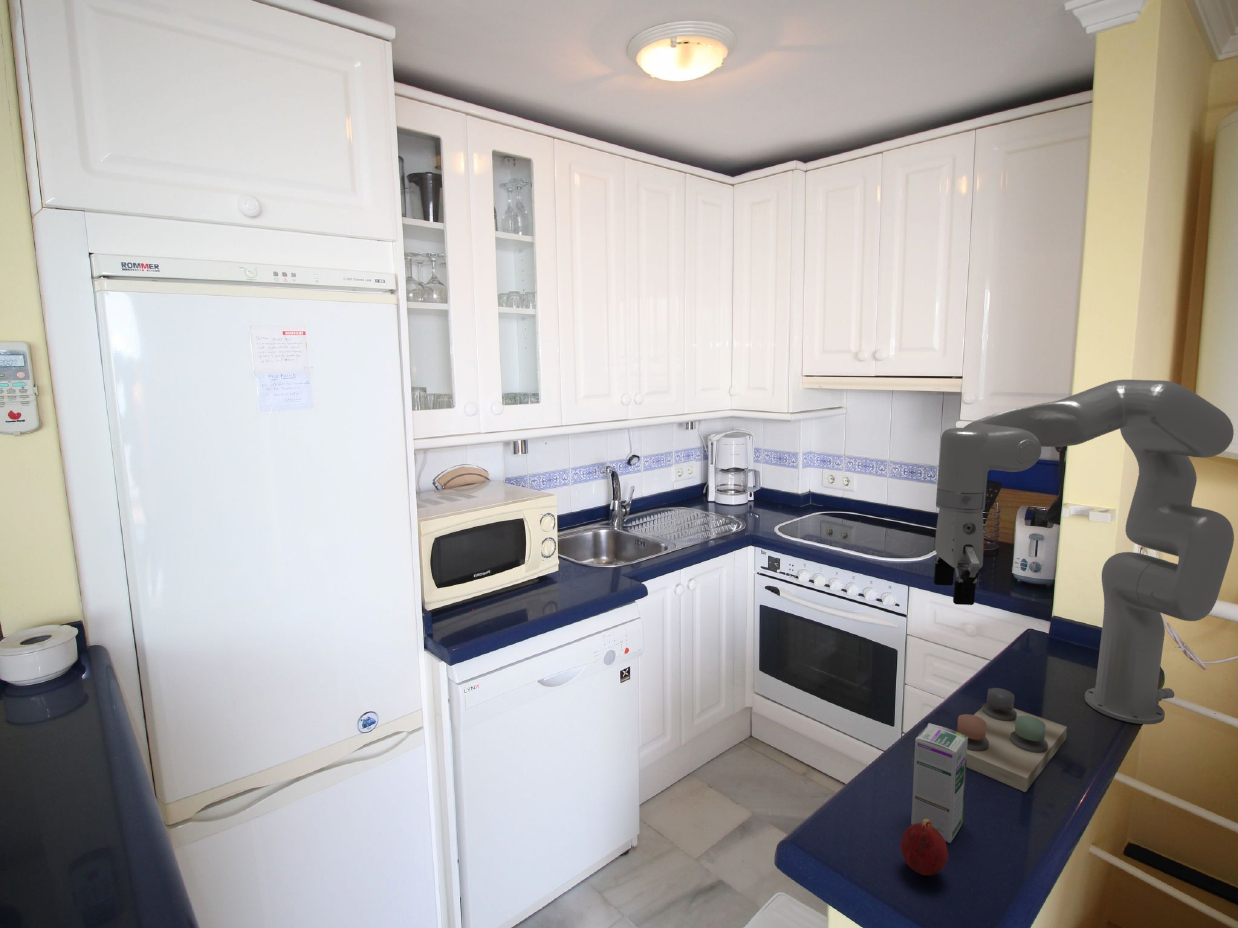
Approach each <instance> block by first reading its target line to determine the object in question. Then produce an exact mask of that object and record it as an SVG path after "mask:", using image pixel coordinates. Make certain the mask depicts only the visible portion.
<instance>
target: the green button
mask: <svg viewBox="0 0 1238 928" xmlns="http://www.w3.org/2000/svg"><path fill="white" fill-rule="evenodd" d="M1045 728H1046V725H1045V723H1044V722H1042V721H1041V720H1039V719H1037V718H1034V717H1031V716H1018V717H1016V723H1015V732H1016V734H1017V735H1019V736H1020V737H1022V738H1024V739H1027V740H1031V741H1042V740H1044V738H1045Z"/></svg>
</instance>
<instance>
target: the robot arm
mask: <svg viewBox="0 0 1238 928" xmlns="http://www.w3.org/2000/svg"><path fill="white" fill-rule="evenodd" d="M1117 430H1120V435H1121V437H1122V439H1123V440H1124V442H1125V443H1126V445H1127V446H1128V447H1129V448H1130V450H1131V451H1132V453H1133V455H1134V457H1135V459H1136V461H1137V465H1138V476H1137V477H1138V478H1137V480H1136V481H1137V482H1136V486H1135V489H1134V493H1133V497H1132V500H1131V503H1130V507H1129V511H1128V515H1127V518H1126V523H1125V534H1126V537H1127V539H1128V540H1129V541H1130V542H1132V543H1134V544H1136V545H1138V546H1140V547H1144V548H1148V549H1150V550H1154V551H1156V552H1157V551H1158V552H1161V553H1164V554H1168V555H1172V556H1174V557H1178V560H1177V561H1178V562H1177V563H1175V562H1171V561H1169V560H1166V559H1162V558H1158V557H1155V556H1151V555H1147V554H1144V553H1139V552H1131V551H1124V552H1118V553H1114V554H1113V555H1111V556H1110V557H1109V558H1108V559H1107V560H1106V561H1105V563H1104V564H1103V566H1102V570H1101V586H1102V592H1103V619H1102V628H1101V637H1100V644H1099V654H1098V662H1097V669H1096V670H1097V671H1096V679H1095V681H1096V682H1095V687H1092V688H1089V689H1087V690H1086V691H1085V693H1084V700H1085V702H1086V704H1088V705H1089V707H1091V708H1092V709H1093V710H1096V711H1097V712H1099V713H1100V714H1103V715H1105V716H1107V717H1110V718H1113V719H1116V720H1118V721H1123V722H1126V723H1131V724H1137V725H1157V724H1159V723H1161V722H1163V721H1164V720H1165V715H1166V713H1165V710H1164V709H1163V707H1161V705H1160V702H1161V701H1162V700H1166V699H1173V698H1174V697H1175V692H1174V690H1173V689H1171V687H1164V688H1158V687H1159V680H1160V672H1161V665H1162V658H1163V657H1162V656H1163V650H1164V640H1165V632H1166V629H1165V623H1164V620H1163V616H1162V615H1163V614H1164V615H1166V616H1168V617H1171V618H1175V619H1178V620H1180V621H1186V622H1197V621H1201V620H1203V619H1204V618H1206V617H1208V615H1209V614H1210V613H1211V612H1212V611H1213V609H1214V607H1215V606H1216V603H1217V600H1218V597H1219V594H1220V592H1221V591H1220V590H1221V587H1222V585H1223V582H1224V578H1225V575H1226V573H1227V569H1228V565H1229V562H1230V558H1231V555H1232V551H1233V547H1234V543H1235V534H1234V532H1235V531H1234V528H1233V525H1232V523H1231V522H1230V520H1229V519H1228V518H1227V517H1226V516H1224V515H1223V514H1222V513H1220V512H1218V511H1214V510H1212V509H1208V508H1203V507H1197V506H1193V505H1192V503H1193V499H1194V496H1195V495H1194V493H1195V490H1196V485H1197V481H1198V480H1197V479H1198V478H1197V473H1196V469H1195V466H1194V465H1193V463H1192V460H1191V459H1190V457H1191V458H1199V459H1203V458H1205V459H1206V458H1207V459H1208V458H1213V457H1216V456H1218V455H1221V454H1222V453H1223V452H1225V451H1226V450H1227V449H1228V448H1229V447H1230V445H1231V443H1232V441H1233V439H1234V434H1235V433H1234V425H1233V423H1232V421H1231V419H1230V418H1229V416H1228V415H1227V414H1226V413H1225V412H1224V411H1222V410H1221V409H1220V408H1218V407H1217V406H1215V405H1214V404H1213V403H1211V402H1209V401H1208V400H1206V399H1205V398H1204V397H1202V396H1200V395H1198V394H1197V393H1195V392H1194V391H1192V390H1191V389H1188V387H1185V386H1183V385H1181V384H1178V383H1176V382H1172V381H1169V380H1159V379H1158V380H1154V379H1152V380H1150V379H1147V380H1146V379H1117V380H1112V381H1108V382H1105V383H1102V384H1100V385H1096V386H1094V387H1090V388H1088V389H1086V390H1084V391H1081V392H1077V393H1075V394H1072V395H1070V396H1067V397H1065V398H1061V399H1058V400H1054V401H1048V402H1043V403H1037V404H1034V405H1030V406H1026V407H1025V406H1024V407H1018V408H1014V409H1010V410H1004V411H1000V412H997V413H993V414H991V415H988V416H985V417H982V418H980V419H977V420H974V421H972V422H970V423H968V424H967V425H965V426H963V427H953V428H952V427H951V428H948V429H945V430H944V431H943V432H942V434H941V436H940V437H941V438H940V448H939V460H938V471H937V472H938V473H937V485H936V486H937V488H936V498H935V499H936V500H935V507H937V508H938V510H939V511H938V515H937V520H936V528H935V542H934V544H935V546H934V547H935V549H934V550H935V553H936V555H935V556H934V571H933V572H934V573H933V584H934V585H935V586H949V587H950V586H953V584H954V586H953V595H952V596H953V597H952V598H953V599H952V602H953V604H954V605H958V606H959V605H962V606H963V605H965V606H973V605H974V604H975V597H976V584H977V583H978V576H979V570H980V569H981V568H982V567H983V565H984V543H985V542H984V539H985V536H984V535H985V531H984V516H983V512H984V511H985V507H986V497H987V483H988V473H989V471H1001V472H1010V473H1015V472H1016V473H1017V472H1023V471H1026V470H1028V469H1031V468H1032V467H1033V466H1034V465H1036V464H1037V462H1038V461H1039V459H1040V457H1041V455H1042V448H1060V447H1072V446H1077V445H1081V444H1084V443H1086V442H1088V441H1091V440H1094V439H1096V438H1098V437H1101V436H1103V435H1106V434H1109V433H1111V432H1115V431H1117ZM962 570H963V571H964V572H962ZM954 574H955V576H956V580H954V578H955V577H954Z"/></svg>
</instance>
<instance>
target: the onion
mask: <svg viewBox="0 0 1238 928" xmlns="http://www.w3.org/2000/svg"><path fill="white" fill-rule="evenodd" d="M931 825H932V822H931V821H930V820H929V819H923V821H922V822H921V823H916V824H913V825H911V824H910V825H909V826H908V827H907V828H905V830H904V831H903V834H902V836H901V840H900V849H901V850H900V851H901V855H902V857H903V858H904V861H905V862H906V864H907V866H908V867H909V868H910V869H911V870H913V871H914V872H915V873H918V874H920V875H922V876H931V875H932V876H933V875H937V874H939V872H942V870H943V869H944V868H945V867H946V865H947V862H948V859H949V850H948V847H947V844H946V843H947V842H946V841H945V840H944V838H943V837H942V835H941V834H940V833H939V832H938V831H937V830H936V829H935V828H934V827H932V826H931Z"/></svg>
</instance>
